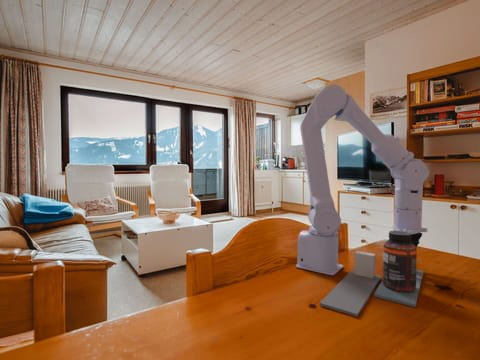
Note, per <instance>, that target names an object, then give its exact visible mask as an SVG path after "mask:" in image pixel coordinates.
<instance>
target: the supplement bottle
mask: <svg viewBox="0 0 480 360" xmlns="http://www.w3.org/2000/svg"><path fill="white" fill-rule="evenodd" d="M388 238H389V239H387V240H386V241H384V243H383V251H382V252H383V255H382V257H383V258H382V260H383V263H382V280H383V284H384V285H385V286H386V287H388V288H390V289H392V290H395V291H400V292H412V291H414V290H415V289H416V270H417V257H418V256H417V255H418V253H417V251H418V250H417V247H416V246H415V245H414V244H412V242H411V233H409V232H404V231H395V230H389V232H388Z"/></svg>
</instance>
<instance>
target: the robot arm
mask: <svg viewBox="0 0 480 360" xmlns="http://www.w3.org/2000/svg"><path fill="white" fill-rule="evenodd" d="M334 116H335V118H334V121H339V122H346V123H349V125H350V126H352V127H353V128H354V129H355V130H356V131H357V132H359V134H361V135H362V136H363V137H364V138H365V139H366V140H367V141H368V142H369V143H371V144H370V145H371V149H370V150H371V153H373V154H374V155H375V156H376V157H377V158H378V159H379V160H380V161H381V163H383V164H384V165H385V166H386V167H387V169H388V170H390V175H391V177H392V178H393V179H395V180H394V181H395V183H394V208H393V209H394V210H393V213H394V214H393V224H392V230H393V231H404V232H409V233H411V242H412V244H414V245H415V246H416V248H417V247H418V245H419V244H420V240H421V238H422V236H423V233H427V232H428V228H427V227H423V226H422V223H423V221H422V219H423V195H424V194H423V192H424V191H423V189H424V182H425V180H427V178H428V177H429V176H430V175H429V174H430V170H429V169H428V168H427V165H426V163H425V162H424V161H423V160H422V159H419V158H415V154H414V153H413V151H409V150H407V148H406V147H405V146H404V145H403V144H402V143H401V142H400V141H401V139H400V137H399V136H397V135H396V136H394V135H393V134H390V133H389V134H385V133H383V132H382V131H381V130H380V128H379V127H378V126H377V124H375V123H374V122H373V120H371V118H370V117H369V116H368V115H367V114H366V112H365V111H364V110H363V109H362V108H361V107H360V106H359V104H357V102H356V100H355V98H354V97H353V96H352V95H351V94H349V93H347V92H346V90H345V89H344V88H343V87H342V86H340V85H338V84H330V85H327V86H324V87H323V88H322V89H321V90H320V91H319V92H318V93H317V95H315V96H314V98H313V100H312V102H311V104H310V105H309V107H308V109H307V111H306V113H305V115H304V117H303V119H302V121H301V123H300V128H299V130H300V135H301V142H302V149H303V156H304V160H305V161H304V162H305V168H306V169H305V170H306V175H307V183H308V188H309V195H310V196H309V205H310V207H309V211H308V213H307V214H308V220H309V223H310V224H311V225H310V226H309V228H308V230H306V229H305V230H304V229H303V230H301V231H300V232H299V234H298V238H297V251H296V252H297V255H296V256H297V257H296V258H297V260H296V261H297V262H296V263H297V264H295V267H296V268H298V269H302V270H307V271H311V272H315V273H319V274H324V275H328V276H335V275H336V274H337V273H338V272H340V270H341V269H342V268H344V264H340V263H339V262H338V261H339V233H340V232H339V229H340V228H341V225H342V219H341V216H340V214H339V213H338V210H337V209H336V206H335V201H334V199H333V196H332V194H331V189H330V181H329V173H328V168H327V162H326V155H325V149H324V148H325V147H324V141H323V134H322V129H323V128H324V126H325V125H326V123H327V122H328V121H329V120H331V119H332V118H333V117H334Z"/></svg>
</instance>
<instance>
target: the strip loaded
mask: <svg viewBox="0 0 480 360" xmlns="http://www.w3.org/2000/svg"><path fill="white" fill-rule="evenodd" d="M423 276H424V271H423V270H418V269H416V289H415V290H414V291H412V292H400V291H395V290H392V289H390V288H388V287H386V286H385V285H384V284H383V279H382V280H380V283H379V284H378V285H377V286H378V287H377V288H376V290H374V293H373V297H375V298H378V299H381V300H386V301H389V302H394V303H397V304H401V305H406V306H409V307H414V308H416V306H417V302H418V297H419V293H420V288H421V284H422V279H423Z"/></svg>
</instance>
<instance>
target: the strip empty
mask: <svg viewBox="0 0 480 360" xmlns="http://www.w3.org/2000/svg"><path fill="white" fill-rule="evenodd" d="M353 264H354V266H353V267H354V268H353V269H351V270H350V271H349V272H348V273H347V274H346V275H345V276H344V277H343V278H342V279H341V280H340V281H339V282H338V283H337V285H335V286H334V288H332V290H330V292H329V293H327V294H326V295H325V297H324V298H322V300H320V302H319V306H320V307H324V308H327V309H330V310H333V311H337V312H339V313H343V314H347V315H350V316H353V317H357V318H358V316H359V315H360V314H361V312H362V310H363V309H364V307H365V306H366V304H367V302H368V300H369V299H370V297H371V295H372V294H373V292H375V289H377V288H376V287H377V286H378V285H379V284H380V283H379V282H381V279H382V276H381V275H376V253H372V252H366V251H360V250H356V251H355V252H354V263H353Z"/></svg>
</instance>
